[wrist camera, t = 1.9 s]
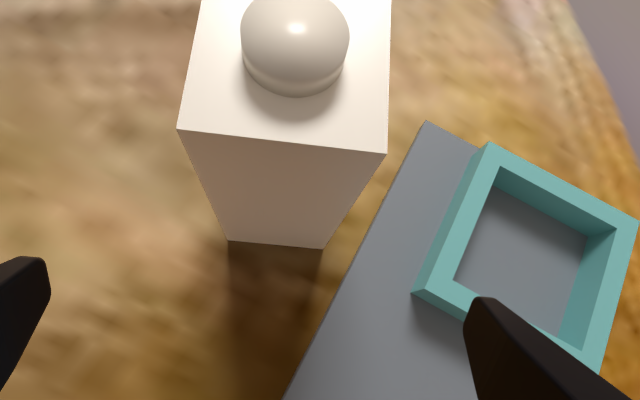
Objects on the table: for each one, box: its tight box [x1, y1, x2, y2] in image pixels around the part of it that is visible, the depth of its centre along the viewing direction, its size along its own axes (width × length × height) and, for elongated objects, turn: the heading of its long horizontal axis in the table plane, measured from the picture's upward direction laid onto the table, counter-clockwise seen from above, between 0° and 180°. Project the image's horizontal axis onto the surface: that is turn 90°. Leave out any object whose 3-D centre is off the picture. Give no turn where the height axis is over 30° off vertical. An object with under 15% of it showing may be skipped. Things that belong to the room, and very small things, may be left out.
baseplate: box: [281, 120, 640, 400], centre depth 20 cm, size 19×12×3 cm, turn 152°
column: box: [176, 0, 391, 249], centre depth 16 cm, size 5×5×13 cm
